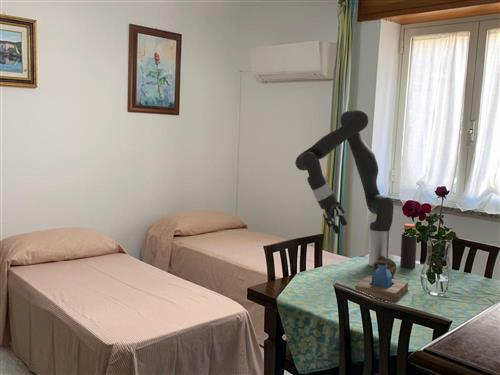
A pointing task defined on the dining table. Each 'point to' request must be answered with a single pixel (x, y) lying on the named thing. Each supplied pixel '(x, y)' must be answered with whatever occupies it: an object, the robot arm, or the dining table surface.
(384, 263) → the perfume bottle
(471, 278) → the dining table surface
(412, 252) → the vinegar
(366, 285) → the walnut hole block
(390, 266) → the decorative turtle
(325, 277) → the dining table surface
